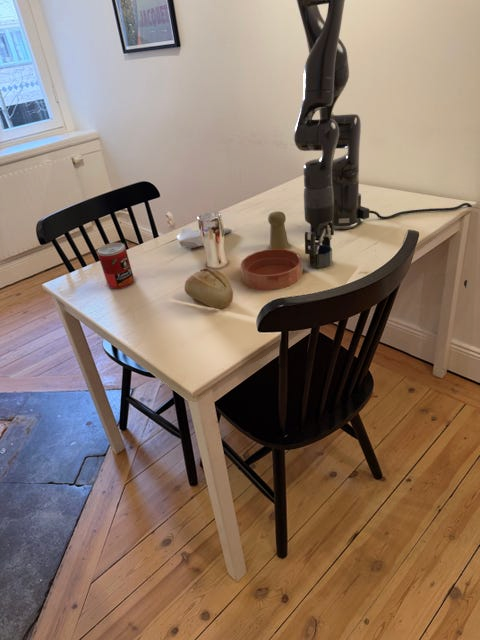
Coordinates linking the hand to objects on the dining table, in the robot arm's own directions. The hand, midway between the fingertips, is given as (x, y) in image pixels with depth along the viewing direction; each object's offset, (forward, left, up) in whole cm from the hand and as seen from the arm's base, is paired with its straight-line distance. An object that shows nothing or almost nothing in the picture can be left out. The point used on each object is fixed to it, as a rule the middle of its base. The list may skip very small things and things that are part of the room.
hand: (320, 259), depth 129 cm
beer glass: (+22, -21, -2) cm, 30 cm away
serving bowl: (+14, -3, -2) cm, 14 cm away
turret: (+17, -40, -2) cm, 43 cm away
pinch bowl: (0, 0, -2) cm, 2 cm away
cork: (+2, -18, -2) cm, 18 cm away
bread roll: (+33, -3, -2) cm, 33 cm away
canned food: (+49, -30, -2) cm, 58 cm away
